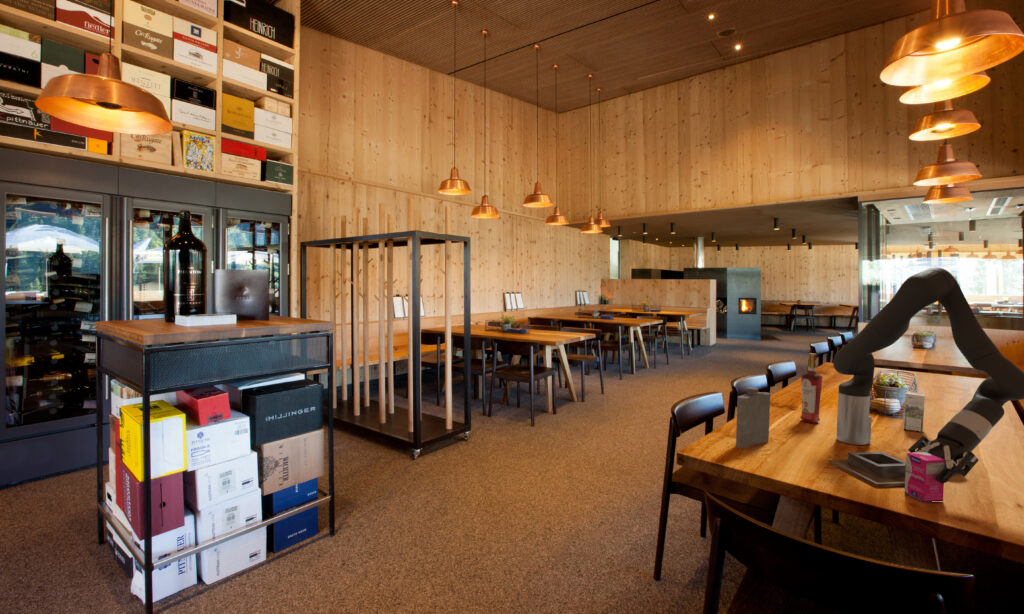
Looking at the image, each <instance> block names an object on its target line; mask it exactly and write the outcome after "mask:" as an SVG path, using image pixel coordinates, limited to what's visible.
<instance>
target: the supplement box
mask: <svg viewBox="0 0 1024 614" xmlns="http://www.w3.org/2000/svg"><path fill="white" fill-rule="evenodd" d="M905 462H906V473H905V486H904V494H905V493H906V494H905V495H907V494H908V495H907V496H909V497H911V498H914V499H915V500H917V501H919V500H920V501H919V502H921V501H922V502H921V503H923V502H932V501H943V502H944V489H945V488H944V486H945V483H944V484H941V483H939V482H938V481H937V480H936V479H935V477H936V476H937V475H938V474H939V473H940V472H941V471H942V470H943V469H944V468H945V460H944V459H942V458H939V457H937V456H934V455H932V454H929V453H926V452H916V453H910V452H906V457H905ZM932 503H933V502H932Z"/></svg>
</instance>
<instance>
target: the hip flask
mask: <svg viewBox="0 0 1024 614" xmlns="http://www.w3.org/2000/svg"><path fill="white" fill-rule="evenodd" d="M746 392H747V393H745V394H742V395H738V396H737V403H736V405H737V406H736V427H735V428H736V431H735V432H736V434H735V448H737V449H739V448H741V449H740V450H745V449H744V448H746V449H747V447H748V448H751V447H753V446H756V444H757V445H761V444H768V443H769V441H770V440H769V437H770V415H771V410H770V409H771V393H770V392H766V391H761V392H760V391H759V387H756V386H747V387H746Z"/></svg>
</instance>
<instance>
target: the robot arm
mask: <svg viewBox="0 0 1024 614" xmlns="http://www.w3.org/2000/svg"><path fill="white" fill-rule="evenodd" d="M935 303H939V304H940V306H942V307H943V308H944V310H945V313H946V314H947V316H948V319H949V323H950V329H951V334H952V338H953V341H954V344H955V345H956V348H957V349H958V350H959V353H961V354H962V356H963V357H964V358H965V360H966V361H967V362H968V364H969V365H970V366H971V367H972V368H973V369H974V370H977V371H982V372H985V373H986V374H987V375H988V376H989V377H986V378H985V379H984V380H983V381H982V382H980V384H979V386H978V387H977V389H976V391H975V392H974V394H973V396H972V398H971V400H970V401H969V402H968V403H967V404H966V405H965V406H964V407H963V408H962V409H961V410H960V411H958V412H957V413H955V415H953V416H952V417H951V419H949V421H948V422H947V423H945V425H944V426H943V427H941V429H940V430H939V431H938V433H937V435H936V436H937V437H936V438H935V439H933V440H932V439H929V438H927V436H925V435H923V436H921V437H920V438H919V439H917V441H916V442H914V443H913V445H911V446H910V447H909V448H908V450H907V451H908V453H916V452H926V453H928V452H927V451H930V453H931V454H932V455H934V456H937V457H939V458H942V459H944V460H945V463H946V465H947V469H946V468H944V469H943V470H942V471H941V472H940V473H939V474H938V475H937V476H936V477H935V479H936V480H937V481H938V482H939V483H941V484H944V485H945V483H948V482H949V480H951V479H952V478H953V476H957V475H961V476H963V477H965V476H967V475H968V474H969V473H970V472H971V470H972V469H973V468H974V467H975V465H976V464H977V463H978V462H979V458H978V456H976V454H975V453H973V451H974V450H975V449H976V447H977V446H978V445H980V443H981V442H982V441H984V440H985V438H986V437H987V436H988V435H989V434H990V432H991V430H992V429H993V428H994V427H995V426H996V425H997V424H998V422H999V421H1000V420H1002V419H1003V417H1004V415H1005V408H1004V407H1003V406H1004V405H1005V404H1006V403H1007V402H1011V401H1022V400H1024V371H1023V370H1022V369H1020V368H1019V367H1018V366H1016V365H1015V364H1014V363H1013V362H1012V361H1011V360H1009V359H1008V358H1006V357H1005V356H1004V355H1003V354H1002V353H1001V351H1000V350H999V348H998V347H997V346H996V344H995V343H994V342H993V341H992V339H991V338H990V337H989V336H988V334H987V333H986V331H985V330H984V329H983V327H982V326H981V324H980V323H979V321H978V318H976V315H975V313H974V311H973V310H972V308H971V306H970V303H969V302H968V300H967V298H966V296H965V294H964V293H963V291H962V289H961V287H960V285H959V283H958V281H957V280H956V278H955V277H954V275H953V274H952V273H951V272H950V271H949V270H947V269H945V268H941V267H935V266H934V267H929V268H928V269H926V270H923V271H920V272H918V273H915V274H913V275H911V276H909V277H907V279H905V281H904V282H903V283H902V284H901V286H900V287H899V288H898V290H897V291H896V293H895V294H894V296H893V297H892V298H891V299H890V301H889V302H888V303H886V305H885V306H884V307H883V308H881V309H880V311H879V312H877V313H876V314H875V315H874V316H873V317H872V318H871V319H870V321H869V322H868V323H866V325H865V326H864V327H863V328H862V330H861V331H859V332H858V334H856V336H854V338H852V339H851V340H850V341H849V342H848V343H846V344H845V345H843V346H842V347H841V348H840V349H839V350H838V351H837V352H836V353H835V355H834V358H833V361H832V364H833V365H832V366H833V368H834V370H835V371H836V373H838V374H841V375H844V376H845V375H846V376H852V378H851V379H849V380H847V381H845V382H842V383H840V384H839V385H838V395H837V416H836V417H837V418H836V421H837V422H836V440H837V441H839V442H841V443H845V444H848V445H849V444H850V445H855V446H856V445H857V446H865V445H868V444H871V440H872V439H871V437H872V436H871V435H872V421H873V420H872V419H873V418H872V416H871V415H870V406H871V405H870V402H871V400H870V399H871V391H872V389H873V383H874V375H875V367H876V366H875V364H876V363H875V357H874V355H873V353H876V352H878V351H881V350H883V349H886V348H888V347H890V346H892V345H894V344H895V343H896V342H898V340H900V339H901V338H902V337H903V336H904V334H906V332H907V331H908V329H909V327H910V321H911V320H912V319H913V317H914V316H916V315H917V314H918V313H919V312H921V311H922V310H923V309H925V308H926V307H928V306H931V305H933V304H935ZM959 459H962V460H961V461H960V462H959V464H958V460H959ZM905 466H906V465H905Z"/></svg>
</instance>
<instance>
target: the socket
mask: <svg viewBox="0 0 1024 614" xmlns="http://www.w3.org/2000/svg"><path fill="white" fill-rule="evenodd" d="M828 464H829V465H832V466H834V467H835V468H838V469H840V470H842V471H843V472H845V473H848V474H850V475H852V476H853V477H855V478H857V479H859V480H861V481H862V482H865V483H866V484H869V485H871V486H873V487H875V488H894V487H893V486H904V487H905V473H906V466H905V465H906V460H902V459H899V458H897V457H895V456H892V455H890V454H888V453H885V452H882V451H866V452H865V451H864V452H863V451H862V452H848V453H847V459H828ZM890 486H891V487H890Z"/></svg>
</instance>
